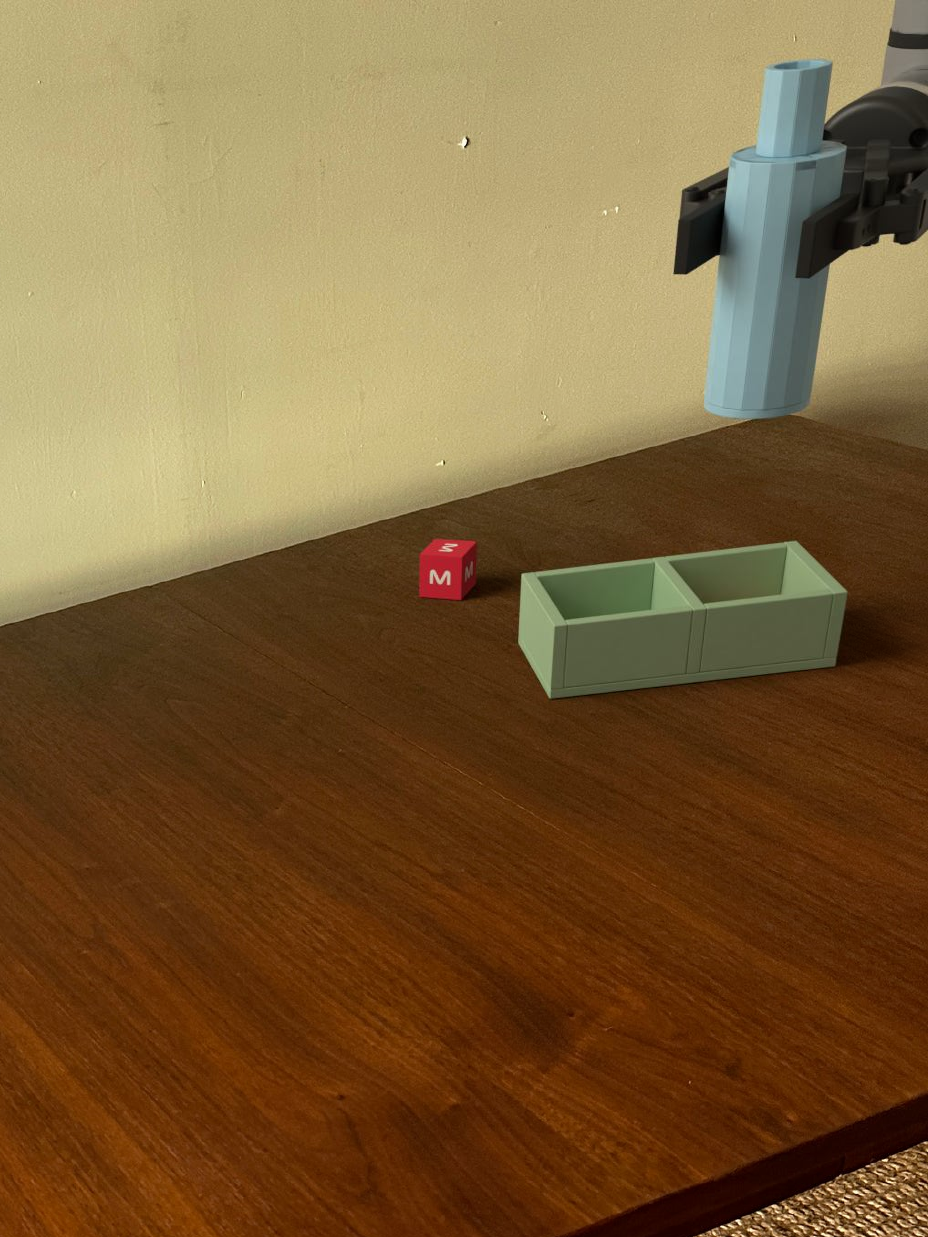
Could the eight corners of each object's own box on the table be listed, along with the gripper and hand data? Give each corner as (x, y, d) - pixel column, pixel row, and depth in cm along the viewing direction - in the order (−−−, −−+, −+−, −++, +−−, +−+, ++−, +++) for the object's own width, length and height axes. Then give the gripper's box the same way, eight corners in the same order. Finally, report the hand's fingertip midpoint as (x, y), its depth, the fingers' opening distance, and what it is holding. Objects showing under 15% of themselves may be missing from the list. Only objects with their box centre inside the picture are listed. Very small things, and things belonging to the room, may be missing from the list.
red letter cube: (461, 600, 121) (462, 556, 119) (419, 597, 122) (419, 554, 120) (475, 584, 122) (477, 541, 121) (434, 581, 124) (435, 538, 122)
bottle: (790, 384, 105) (836, 50, 94) (824, 411, 100) (876, 63, 90) (691, 396, 105) (725, 65, 95) (720, 424, 101) (760, 79, 90)
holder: (785, 612, 113) (796, 540, 110) (835, 666, 106) (848, 591, 103) (517, 643, 114) (521, 573, 111) (549, 699, 107) (554, 626, 104)
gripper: (1041, 226, 105) (915, 332, 91) (726, 221, 115) (571, 316, 102) (1072, 79, 100) (944, 169, 87) (740, 88, 110) (580, 169, 97)
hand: (743, 248), depth 94 cm, fingers closed on bottle, 6 cm apart
